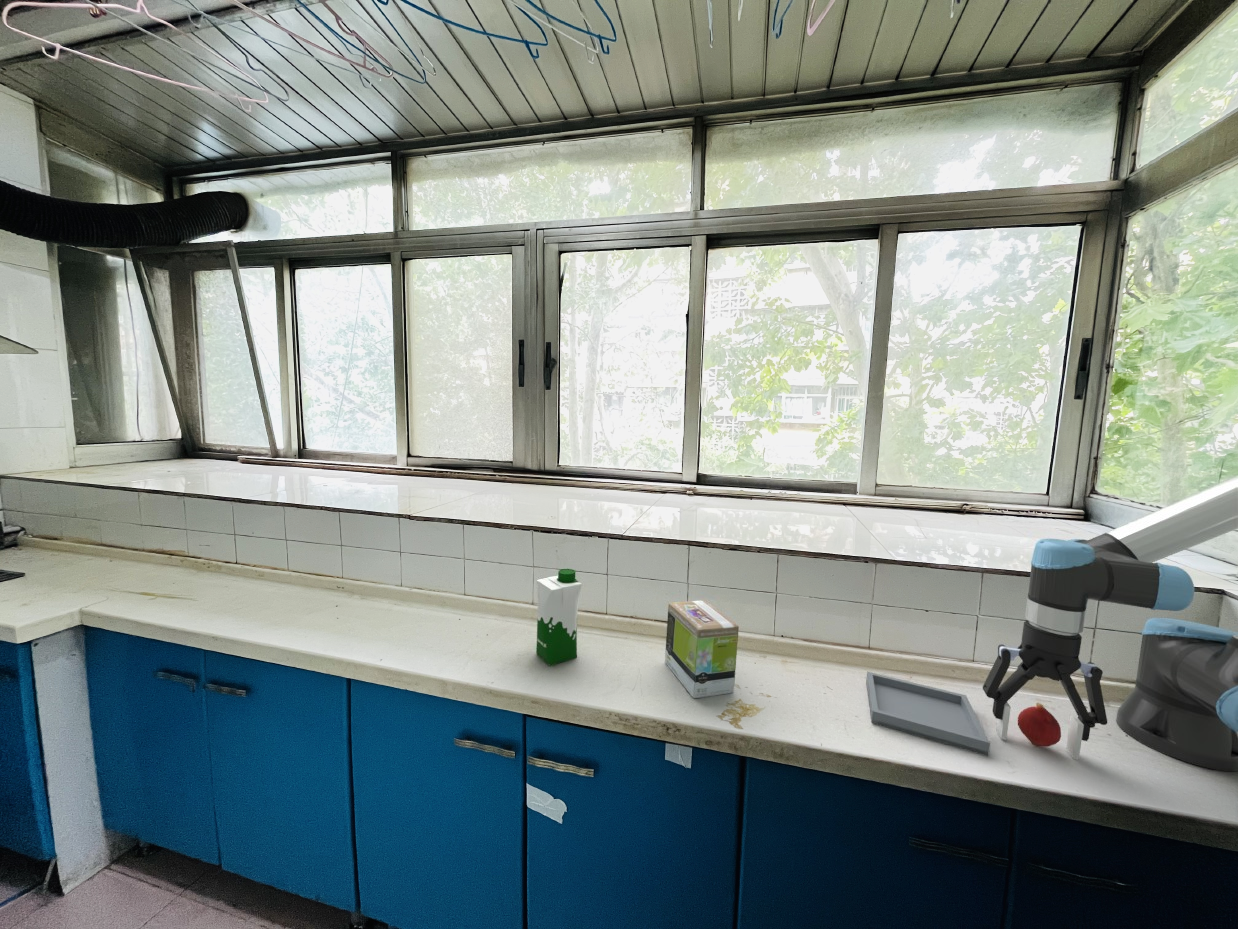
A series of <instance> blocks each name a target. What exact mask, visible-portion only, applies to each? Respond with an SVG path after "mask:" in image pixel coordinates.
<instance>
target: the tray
mask: <svg viewBox="0 0 1238 929" xmlns="http://www.w3.org/2000/svg"><path fill="white" fill-rule="evenodd" d="M865 678H866V679H865V685H866V691H867V699H868V706H869V714H870V721H871V724H872V725H876V726H880V727H884V728H886V729H890V730H894V731H897V732H899V733H900V732H901V733H904V734H908V735H911V736H916V737H919V738H921V739H925V740H929V741H933V742H937V743H939V744H944V745H947V746H951V747H954V748H958V749H962V750H965V751H968V752H971V753H975V754H978V755H982V756H986V757H989V756H990V755H989V754H990V747H991V742H990V740H989V738H988V736H987V735H986V733H985V730H984V729H983V726H982V724H981V723H980V720H979V718H978V717H977V715H976V714H977V713H975V711H974V709H973V706H972V705H971V702H970V701H969V698H968V696H967V695H966V694H962V693H959V692H954V691H949V690H946V689H942V688H938V687H933V686H929V685H924V684H921V683H918V682H917V683H916V682H913V681H909V680H904V679H900V678H895V677H892V676H888V675H884V674H881V673H875V672H871V671H867V672H866V677H865Z"/></svg>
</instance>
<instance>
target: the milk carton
mask: <svg viewBox="0 0 1238 929" xmlns="http://www.w3.org/2000/svg"><path fill="white" fill-rule="evenodd" d="M557 574H558V575H554V576H548V577H546V578H540V579H537V580H536V590H537V592H536V593H537V617H536V618H537V621H536V623H537V624H536V625H537V626H536V627H537V628H536V649H535V653H536V654H537V655H538V656H539V657H540V658H541V659H542V660H543V661H544V662H545V663H546V664H548V666H550V667H551V666H555V665H557V664H560V663H563V662H567V661H571V660H573V659H576V658H577V657H578V648H577V647H578V639H577V638H578V637H577V636H578V631H577V630H578V611H579V610H578V607H579V606H578V605H579V596H580V592H581V589H582V586H583V584H582V583H581V582H580V581H579V580H577V578H576V570H574V569H572V568H563V569H559V570H558V572H557Z"/></svg>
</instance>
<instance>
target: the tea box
mask: <svg viewBox="0 0 1238 929" xmlns="http://www.w3.org/2000/svg"><path fill="white" fill-rule="evenodd" d="M667 606H668V607H667V622H666V623H667V624H666V635H665V638H666V639H665V653H664V663H665V664H666V665H667V666H668V668H669V669H670V670H671V672H672V673H673V674H674V675H675V676H676V678H677V680H678V681H679V682H680V683H681V685H682V686H683V687H684V689H686V690H687V691H688V693H689V695H690V697H691V696H692V698H693V699H698V698H707V697H714V696H719V695H726V694H731V693H734V691H735V679H736V668H737V657H738V656H737V655H738V641H739V628H740V626H739V625H738V624H737V623H736V622H735V621H733V620H732V619H731V618H730V617H727V615H725V614H723V613H722V612H721V611H720V610H718V609H717V608H716V607H715V606H713V605H712V604H711V603H709V602H708V601H706V599H705V600H703V599H702V600H692V601H691V600H690V601H688V600H687V601H677V602H676V601H675V602H668V605H667Z"/></svg>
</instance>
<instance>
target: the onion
mask: <svg viewBox="0 0 1238 929" xmlns="http://www.w3.org/2000/svg"><path fill="white" fill-rule="evenodd" d="M1017 727H1018V728H1019V730H1020V732H1021V733H1022V734H1023V735H1024V736H1025V738H1026V739H1027V740H1028V741H1029V742H1030V743H1031V744H1032V745H1033V746H1035V747H1042V748H1044V747H1050V746H1054V745H1057V744H1058V743H1059V742H1060V741H1061V738H1062V730H1061V726H1060V724H1059V722H1058V720H1057V718H1056V717H1055V716H1054V715H1053V714H1052V713H1051V712H1049V711H1048V710H1047V709H1046V708H1045V706H1044V705H1043V704H1042V703H1040V702H1036V706H1030V707H1026V708H1024V709H1023V710H1021V711H1020V712H1019V713H1018V716H1017Z"/></svg>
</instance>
